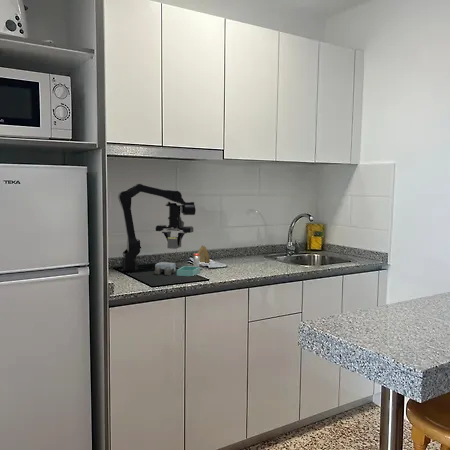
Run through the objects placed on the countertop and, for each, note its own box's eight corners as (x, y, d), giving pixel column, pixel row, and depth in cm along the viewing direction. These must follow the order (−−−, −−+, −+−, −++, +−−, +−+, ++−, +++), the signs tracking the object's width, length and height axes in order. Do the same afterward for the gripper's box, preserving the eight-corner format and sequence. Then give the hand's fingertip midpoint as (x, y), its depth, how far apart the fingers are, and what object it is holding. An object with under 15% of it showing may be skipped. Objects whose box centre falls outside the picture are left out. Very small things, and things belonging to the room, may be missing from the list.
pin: (192, 269, 228) (192, 254, 227) (194, 268, 230) (194, 253, 230) (198, 270, 227) (198, 254, 226) (200, 269, 230) (200, 253, 229)
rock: (215, 261, 243) (212, 255, 252) (206, 249, 240) (203, 244, 250) (199, 273, 243) (196, 267, 252) (189, 261, 240) (187, 255, 249)
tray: (176, 276, 213) (176, 269, 213) (184, 272, 223) (184, 266, 223) (193, 277, 211) (193, 270, 211) (199, 273, 221) (200, 267, 221)
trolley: (153, 275, 214) (153, 264, 214) (161, 271, 224) (161, 260, 223) (169, 276, 212) (169, 265, 212) (177, 272, 222) (177, 261, 221)
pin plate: (188, 270, 226) (188, 270, 226) (192, 268, 232) (192, 268, 232) (200, 271, 225) (200, 270, 225) (203, 269, 231) (203, 268, 231)
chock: (167, 248, 229) (167, 237, 228) (173, 246, 236) (173, 236, 236) (175, 248, 227) (176, 238, 227) (181, 246, 235) (181, 236, 235)
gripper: (197, 214, 236) (196, 244, 237) (163, 213, 240) (163, 242, 242) (190, 216, 225) (189, 247, 226) (155, 214, 229) (154, 245, 231)
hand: (174, 245), depth 232 cm, fingers closed on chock, 4 cm apart
